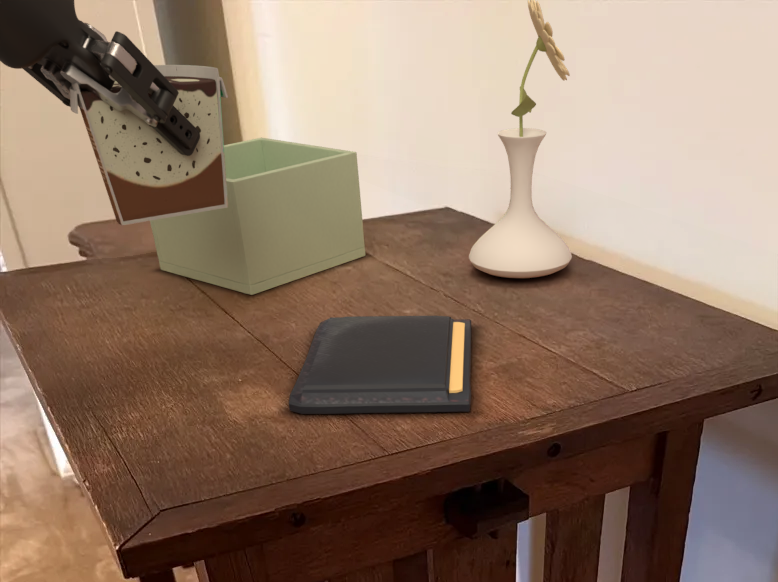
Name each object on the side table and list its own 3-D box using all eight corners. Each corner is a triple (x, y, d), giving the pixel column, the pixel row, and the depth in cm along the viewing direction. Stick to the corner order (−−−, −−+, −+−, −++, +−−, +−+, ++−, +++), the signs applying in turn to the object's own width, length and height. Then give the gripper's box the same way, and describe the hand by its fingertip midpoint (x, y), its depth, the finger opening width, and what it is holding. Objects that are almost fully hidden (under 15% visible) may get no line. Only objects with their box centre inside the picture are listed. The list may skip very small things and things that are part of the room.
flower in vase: (557, 291, 96) (568, 3, 81) (455, 282, 99) (447, 2, 84) (584, 257, 106) (599, -6, 90) (490, 250, 109) (489, -7, 93)
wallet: (319, 307, 88) (477, 307, 87) (321, 327, 89) (478, 327, 88) (276, 392, 72) (469, 392, 71) (280, 415, 73) (470, 415, 73)
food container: (211, 191, 82) (189, 60, 76) (244, 204, 78) (223, 67, 72) (74, 213, 76) (38, 72, 70) (103, 228, 72) (68, 81, 66)
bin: (160, 269, 104) (136, 163, 97) (275, 235, 115) (261, 137, 108) (251, 295, 97) (232, 181, 90) (365, 255, 108) (356, 151, 101)
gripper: (65, -84, 57) (242, 108, 71) (-52, -84, 64) (131, 91, 78) (13, 25, 57) (201, 194, 71) (-98, 13, 64) (94, 170, 78)
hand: (164, 140), depth 75 cm, fingers closed on food container, 6 cm apart
